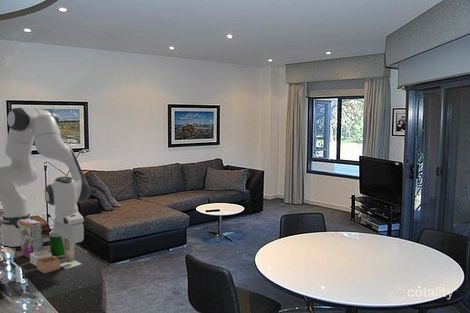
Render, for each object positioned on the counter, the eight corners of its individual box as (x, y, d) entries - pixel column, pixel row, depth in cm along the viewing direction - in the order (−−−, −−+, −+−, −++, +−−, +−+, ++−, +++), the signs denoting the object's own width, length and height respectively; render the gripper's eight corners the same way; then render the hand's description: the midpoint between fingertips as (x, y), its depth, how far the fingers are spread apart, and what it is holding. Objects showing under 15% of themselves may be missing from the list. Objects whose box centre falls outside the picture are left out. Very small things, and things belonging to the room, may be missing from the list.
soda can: (62, 260, 178) (60, 233, 176) (47, 259, 179) (45, 232, 178) (72, 254, 185) (71, 228, 184) (58, 253, 186) (56, 227, 185)
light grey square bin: (30, 263, 174) (29, 253, 173) (46, 259, 179) (45, 249, 178) (36, 267, 170) (35, 257, 169) (52, 263, 174) (51, 253, 174)
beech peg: (63, 261, 171) (62, 238, 170) (72, 258, 173) (70, 235, 172) (67, 263, 168) (66, 239, 167) (76, 260, 171) (74, 237, 170)
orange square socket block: (37, 270, 166) (36, 259, 166) (53, 265, 171) (52, 255, 171) (44, 274, 162) (43, 263, 161) (60, 269, 167) (59, 259, 166)
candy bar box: (20, 255, 184) (17, 220, 182) (31, 252, 188) (29, 218, 186) (33, 261, 177) (30, 224, 175) (44, 257, 181) (41, 221, 179)
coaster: (58, 266, 171) (58, 264, 171) (74, 261, 176) (74, 260, 176) (65, 270, 166) (65, 268, 166) (82, 265, 171) (82, 264, 171)
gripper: (48, 213, 173) (50, 244, 175) (70, 222, 160) (72, 255, 161) (63, 210, 178) (65, 241, 180) (85, 218, 164) (87, 251, 166)
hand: (69, 248), depth 170 cm, fingers closed on beech peg, 3 cm apart
